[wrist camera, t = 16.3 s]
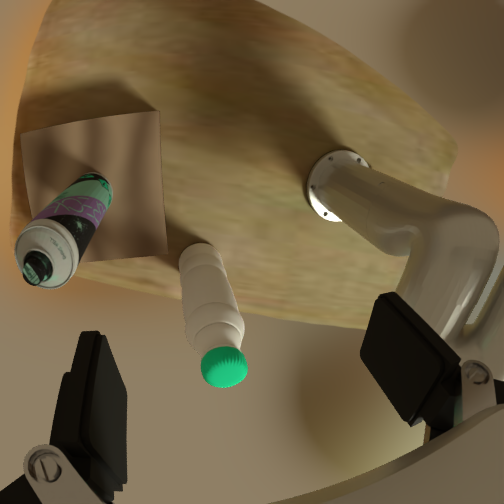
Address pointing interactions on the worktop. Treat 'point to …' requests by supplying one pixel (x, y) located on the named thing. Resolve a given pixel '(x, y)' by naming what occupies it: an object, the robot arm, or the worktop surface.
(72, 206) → the spray can
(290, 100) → the worktop surface
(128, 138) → the brown wooden block
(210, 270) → the water bottle
